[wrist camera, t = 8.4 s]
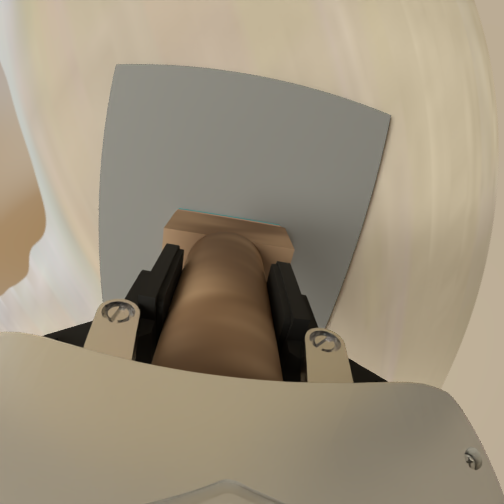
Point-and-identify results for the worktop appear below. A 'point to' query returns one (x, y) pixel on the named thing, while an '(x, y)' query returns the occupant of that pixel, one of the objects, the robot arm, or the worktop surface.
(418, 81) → the worktop surface
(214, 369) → the wooden rubber stamp
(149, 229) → the mat
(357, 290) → the worktop surface
